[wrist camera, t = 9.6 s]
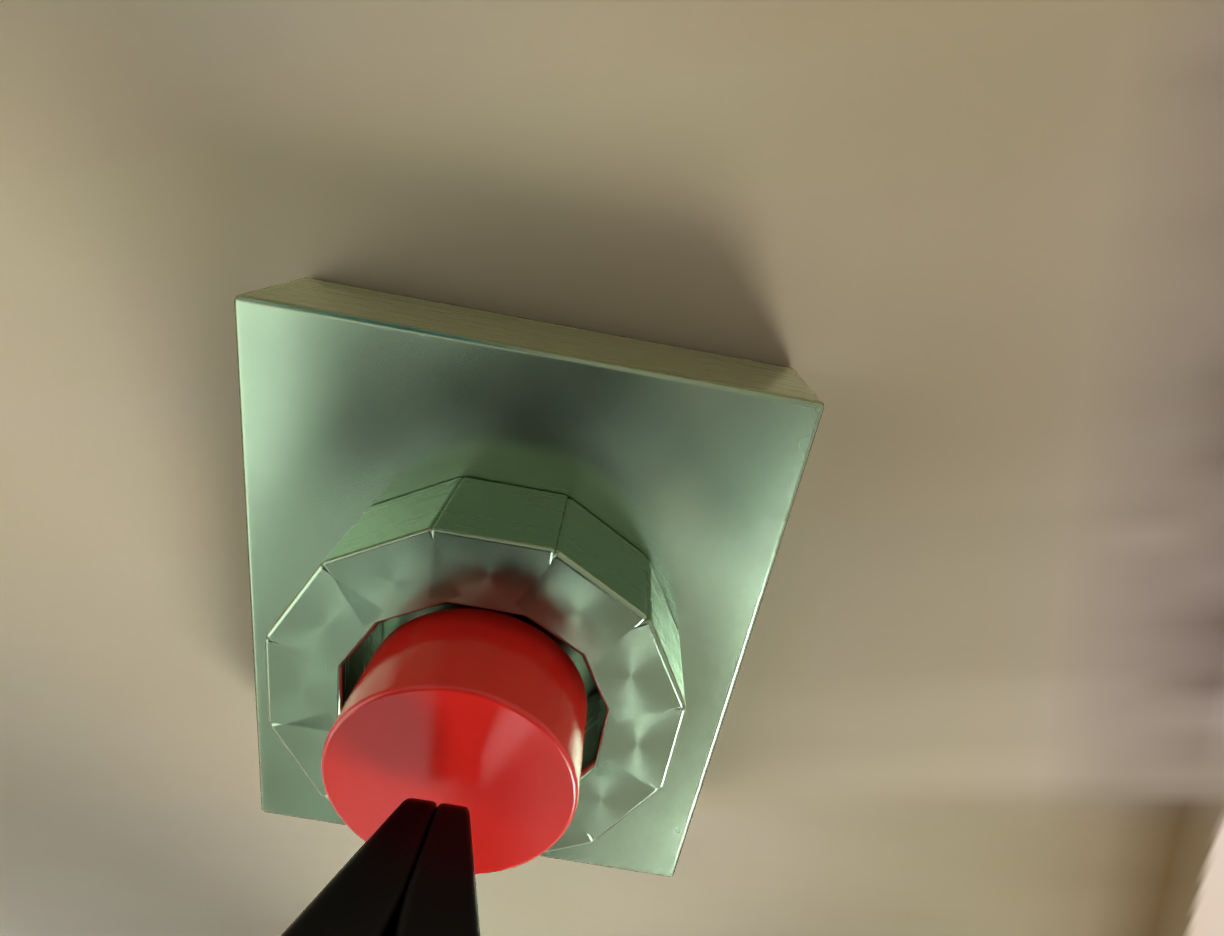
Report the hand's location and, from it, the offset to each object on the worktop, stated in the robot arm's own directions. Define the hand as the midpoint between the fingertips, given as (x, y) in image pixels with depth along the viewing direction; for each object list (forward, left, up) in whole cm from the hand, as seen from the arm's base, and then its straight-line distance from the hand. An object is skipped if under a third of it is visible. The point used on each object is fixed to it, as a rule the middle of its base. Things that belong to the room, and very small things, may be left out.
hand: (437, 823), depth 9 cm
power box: (0, 0, -6) cm, 6 cm away
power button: (0, 0, -2) cm, 2 cm away
